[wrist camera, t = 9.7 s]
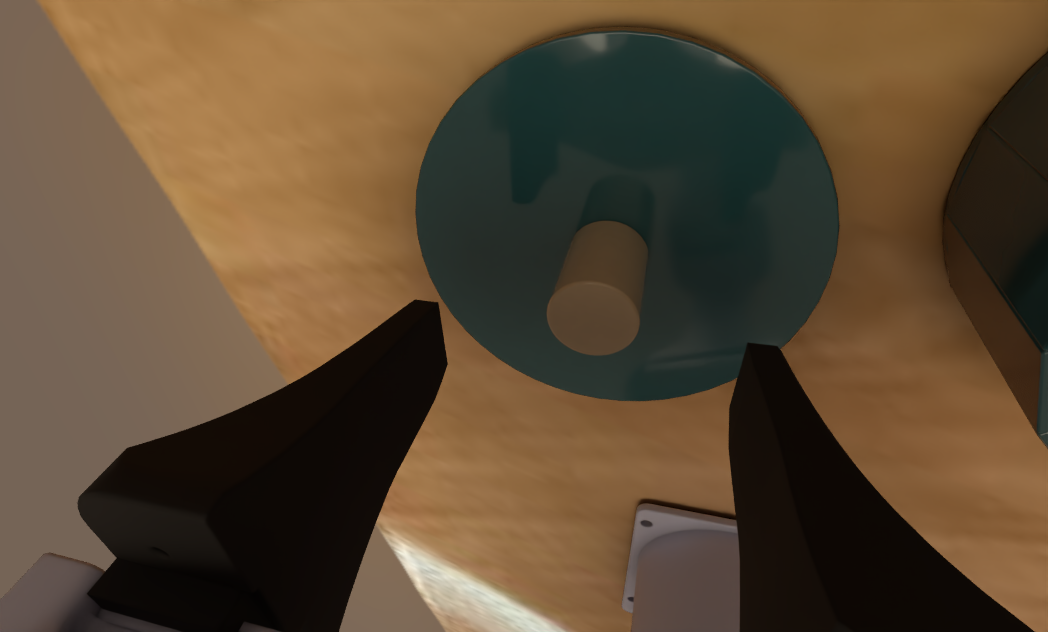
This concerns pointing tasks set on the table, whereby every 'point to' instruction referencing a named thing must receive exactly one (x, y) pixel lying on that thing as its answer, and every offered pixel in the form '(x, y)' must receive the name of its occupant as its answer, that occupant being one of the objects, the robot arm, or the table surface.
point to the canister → (1007, 240)
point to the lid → (626, 213)
